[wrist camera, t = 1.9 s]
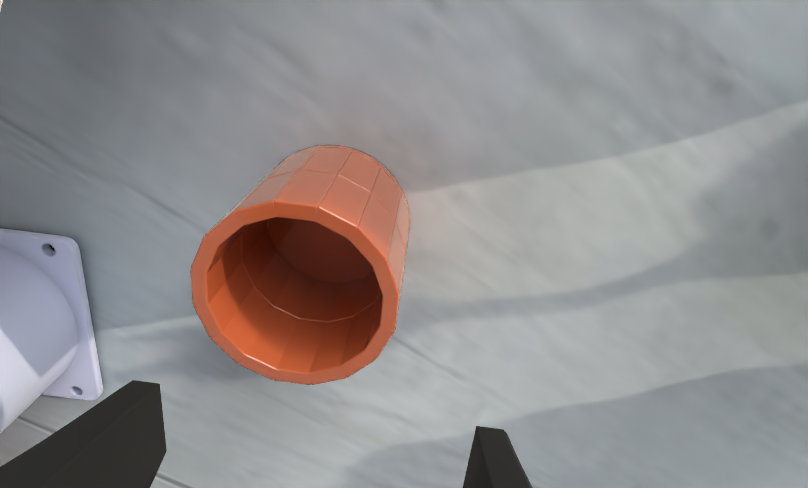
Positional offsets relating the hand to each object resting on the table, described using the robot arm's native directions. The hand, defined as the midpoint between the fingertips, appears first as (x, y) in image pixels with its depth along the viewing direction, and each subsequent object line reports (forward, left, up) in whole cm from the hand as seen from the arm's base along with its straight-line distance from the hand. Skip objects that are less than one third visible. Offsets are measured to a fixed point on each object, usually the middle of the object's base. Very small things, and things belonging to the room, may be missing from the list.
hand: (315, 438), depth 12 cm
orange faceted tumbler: (-1, +2, -9) cm, 10 cm away
